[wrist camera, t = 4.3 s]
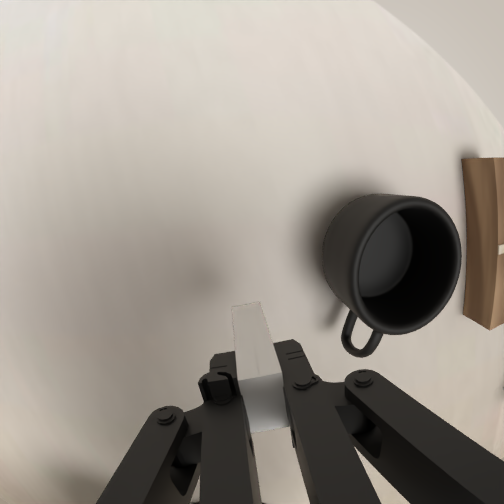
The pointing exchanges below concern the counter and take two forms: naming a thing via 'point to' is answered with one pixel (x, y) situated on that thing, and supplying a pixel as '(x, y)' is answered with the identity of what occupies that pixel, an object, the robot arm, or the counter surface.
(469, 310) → the long brown box
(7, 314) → the counter surface
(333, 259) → the mug
